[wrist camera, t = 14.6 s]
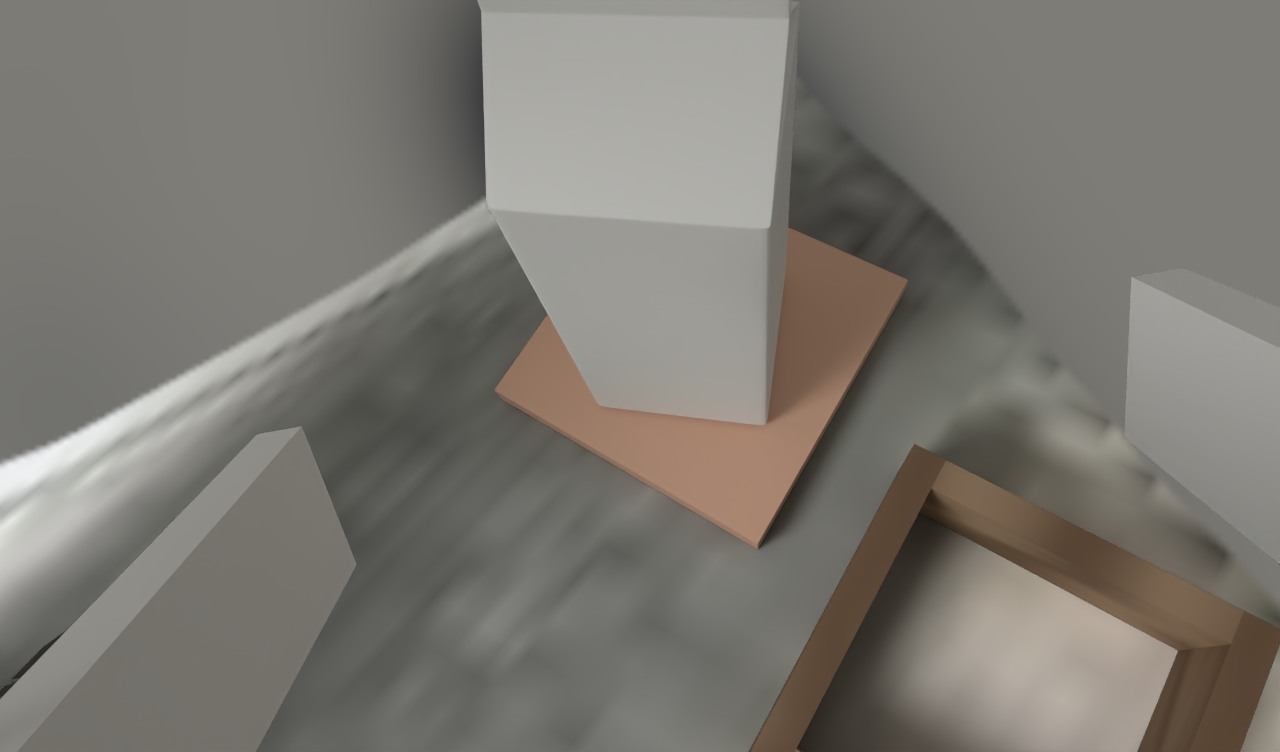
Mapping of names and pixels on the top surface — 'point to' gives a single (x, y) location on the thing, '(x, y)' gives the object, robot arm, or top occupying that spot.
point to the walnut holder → (1071, 559)
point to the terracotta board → (718, 450)
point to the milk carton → (648, 188)
